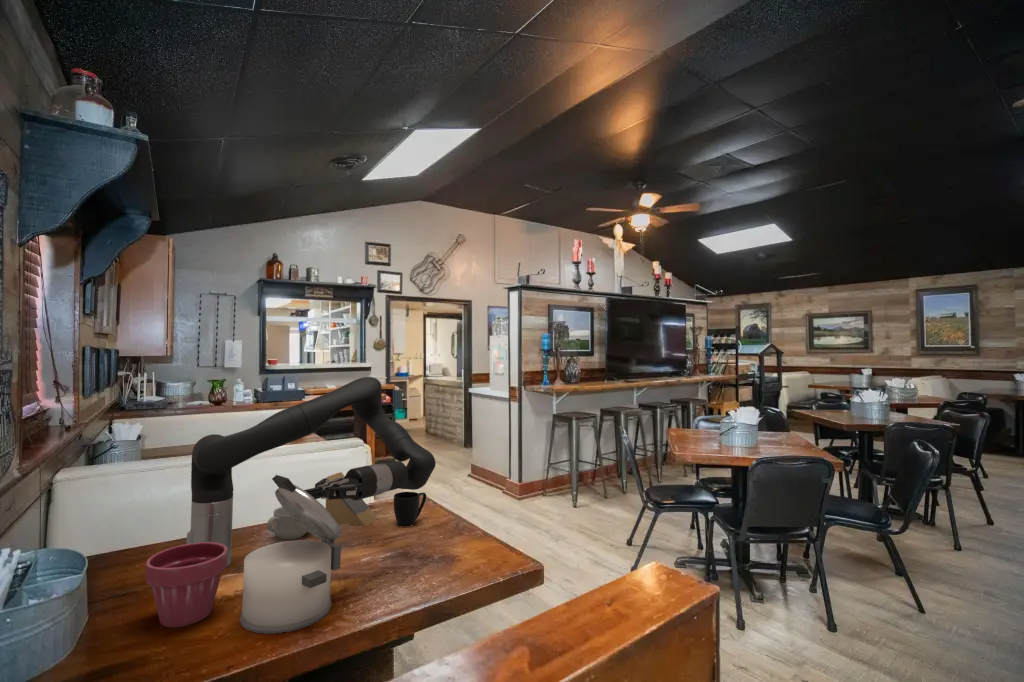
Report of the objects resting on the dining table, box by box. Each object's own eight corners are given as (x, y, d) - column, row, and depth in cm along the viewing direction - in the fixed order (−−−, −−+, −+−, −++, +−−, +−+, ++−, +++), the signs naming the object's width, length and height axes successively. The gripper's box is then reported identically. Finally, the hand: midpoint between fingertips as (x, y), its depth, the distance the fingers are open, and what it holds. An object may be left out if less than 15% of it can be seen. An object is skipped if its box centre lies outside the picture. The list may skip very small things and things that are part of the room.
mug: (433, 521, 168) (433, 492, 168) (403, 530, 159) (403, 499, 159) (417, 516, 173) (418, 488, 174) (388, 524, 165) (388, 494, 165)
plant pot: (134, 641, 96) (137, 572, 96) (153, 607, 109) (155, 546, 109) (221, 626, 101) (223, 561, 102) (229, 595, 114) (231, 538, 115)
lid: (298, 489, 101) (305, 481, 102) (256, 476, 111) (264, 469, 112) (347, 550, 110) (353, 543, 111) (304, 533, 120) (310, 526, 121)
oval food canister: (273, 649, 94) (275, 583, 94) (219, 610, 108) (221, 553, 108) (361, 609, 109) (363, 552, 110) (304, 579, 123) (306, 529, 123)
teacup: (298, 528, 160) (299, 502, 160) (318, 535, 153) (319, 508, 154) (254, 540, 148) (255, 512, 149) (274, 549, 142) (275, 520, 142)
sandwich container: (366, 528, 161) (367, 480, 162) (324, 523, 165) (325, 476, 166) (380, 519, 169) (381, 474, 170) (339, 515, 173) (341, 471, 174)
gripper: (352, 461, 129) (287, 474, 115) (386, 469, 121) (321, 483, 107) (352, 491, 129) (286, 507, 115) (386, 501, 121) (320, 519, 107)
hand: (303, 496), depth 111 cm, fingers closed
